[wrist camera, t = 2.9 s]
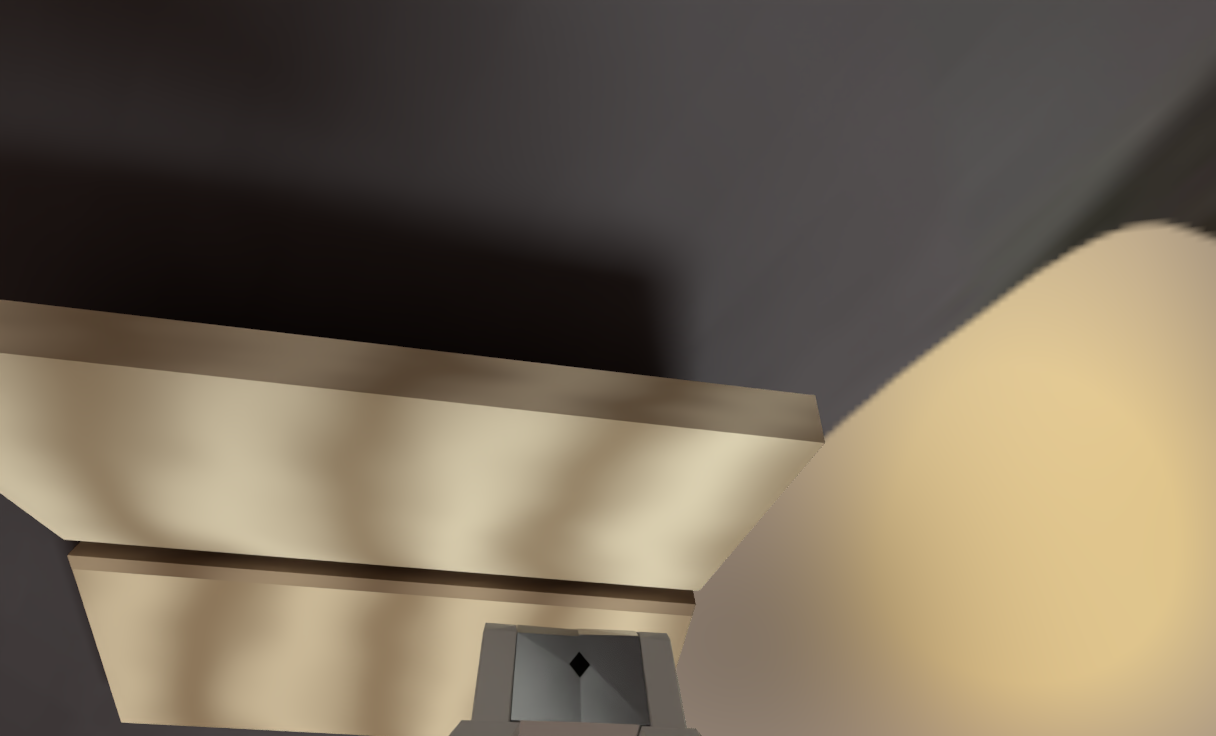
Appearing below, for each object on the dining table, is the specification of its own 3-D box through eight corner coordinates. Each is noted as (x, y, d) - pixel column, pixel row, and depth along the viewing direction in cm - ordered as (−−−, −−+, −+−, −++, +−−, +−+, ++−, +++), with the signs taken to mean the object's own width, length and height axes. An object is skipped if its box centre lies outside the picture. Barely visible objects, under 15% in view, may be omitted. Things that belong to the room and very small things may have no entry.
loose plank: (815, 395, 17) (824, 443, 16) (697, 554, 27) (699, 590, 26) (-172, 279, 15) (-225, 328, 14) (85, 501, 24) (63, 539, 23)
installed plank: (689, 574, 27) (695, 604, 26) (647, 718, 32) (650, 750, 31) (96, 525, 25) (67, 555, 23) (143, 689, 29) (121, 722, 28)
